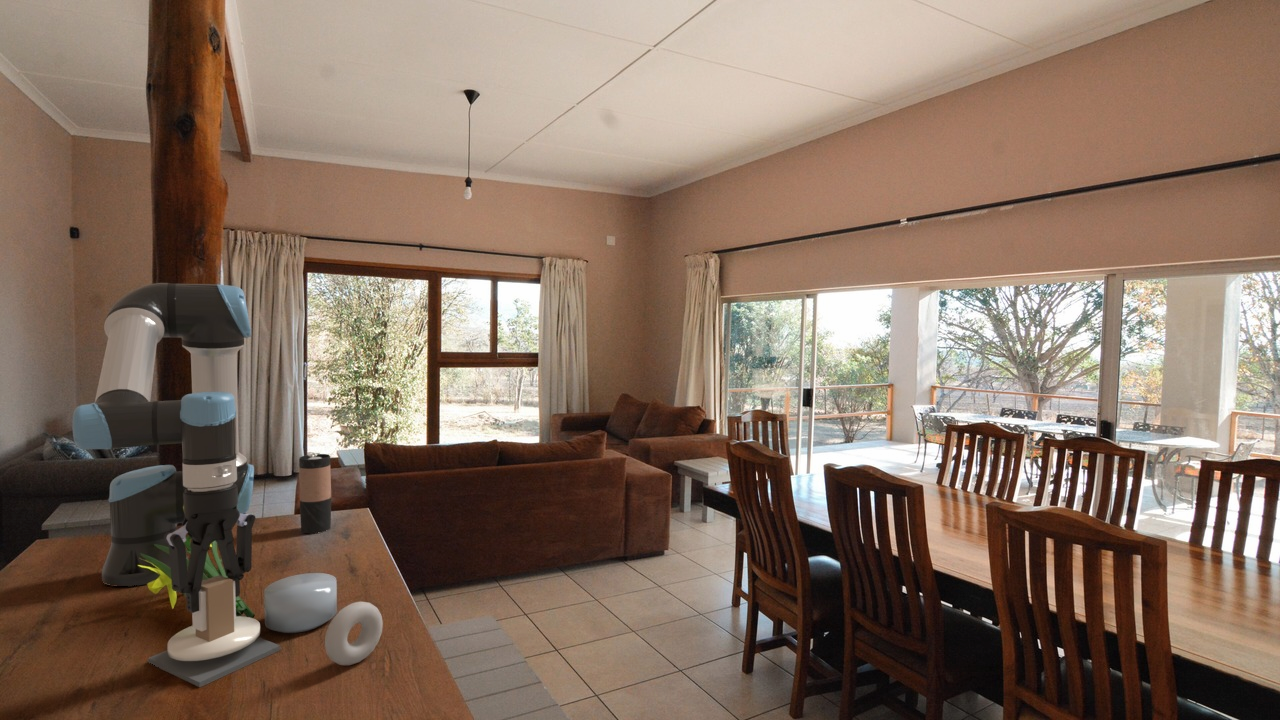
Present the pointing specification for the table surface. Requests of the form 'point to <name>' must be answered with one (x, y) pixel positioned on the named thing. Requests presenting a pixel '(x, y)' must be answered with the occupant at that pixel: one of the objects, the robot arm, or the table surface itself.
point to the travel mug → (315, 493)
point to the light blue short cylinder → (300, 602)
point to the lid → (215, 627)
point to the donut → (342, 625)
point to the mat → (214, 663)
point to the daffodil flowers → (166, 571)
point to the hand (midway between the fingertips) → (214, 622)
